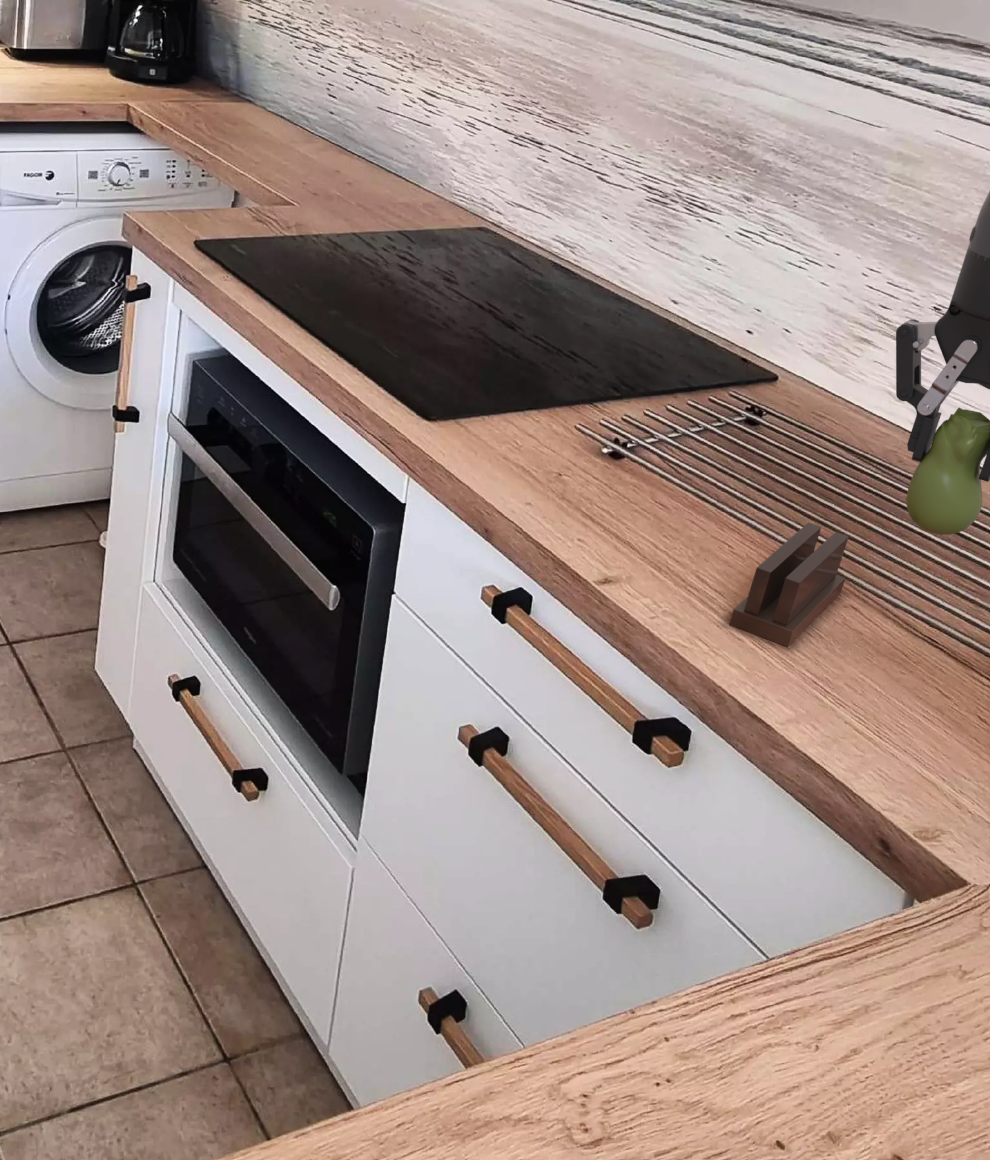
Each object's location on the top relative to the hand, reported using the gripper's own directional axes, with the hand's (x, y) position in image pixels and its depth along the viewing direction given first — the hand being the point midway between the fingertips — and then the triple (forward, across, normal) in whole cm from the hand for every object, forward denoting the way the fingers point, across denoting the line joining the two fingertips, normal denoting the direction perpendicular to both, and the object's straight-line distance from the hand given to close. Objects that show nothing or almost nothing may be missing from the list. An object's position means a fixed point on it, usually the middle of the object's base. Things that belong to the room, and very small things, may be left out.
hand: (952, 467), depth 118 cm
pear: (+6, 0, 0) cm, 6 cm away
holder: (+16, +9, 0) cm, 18 cm away
